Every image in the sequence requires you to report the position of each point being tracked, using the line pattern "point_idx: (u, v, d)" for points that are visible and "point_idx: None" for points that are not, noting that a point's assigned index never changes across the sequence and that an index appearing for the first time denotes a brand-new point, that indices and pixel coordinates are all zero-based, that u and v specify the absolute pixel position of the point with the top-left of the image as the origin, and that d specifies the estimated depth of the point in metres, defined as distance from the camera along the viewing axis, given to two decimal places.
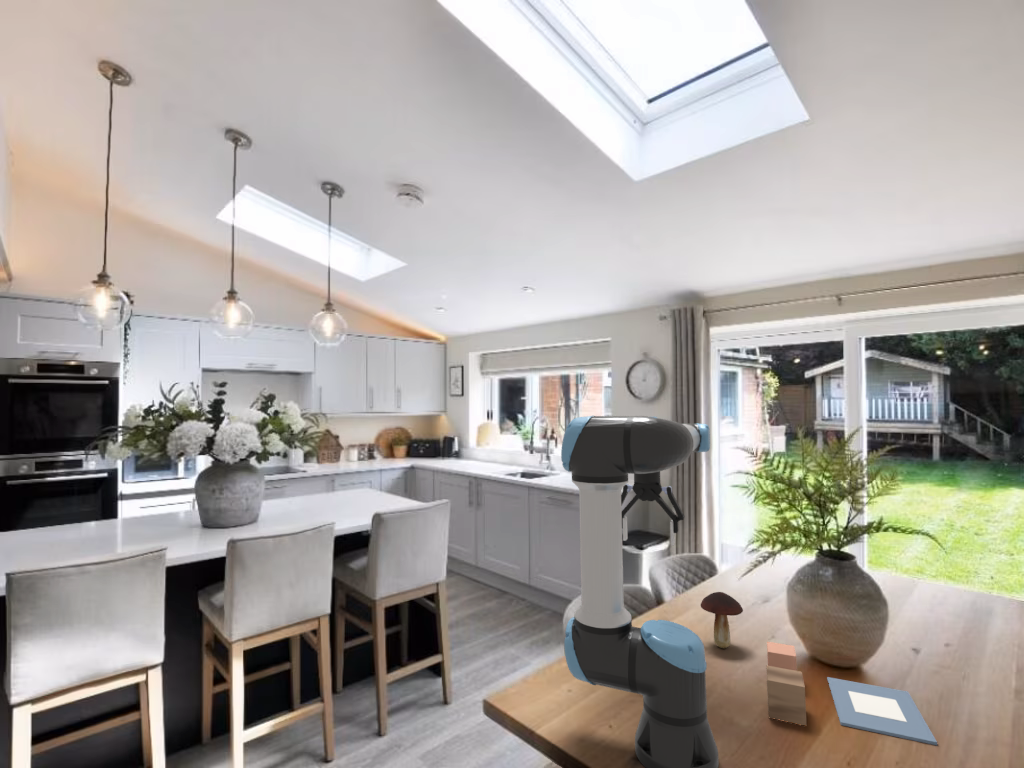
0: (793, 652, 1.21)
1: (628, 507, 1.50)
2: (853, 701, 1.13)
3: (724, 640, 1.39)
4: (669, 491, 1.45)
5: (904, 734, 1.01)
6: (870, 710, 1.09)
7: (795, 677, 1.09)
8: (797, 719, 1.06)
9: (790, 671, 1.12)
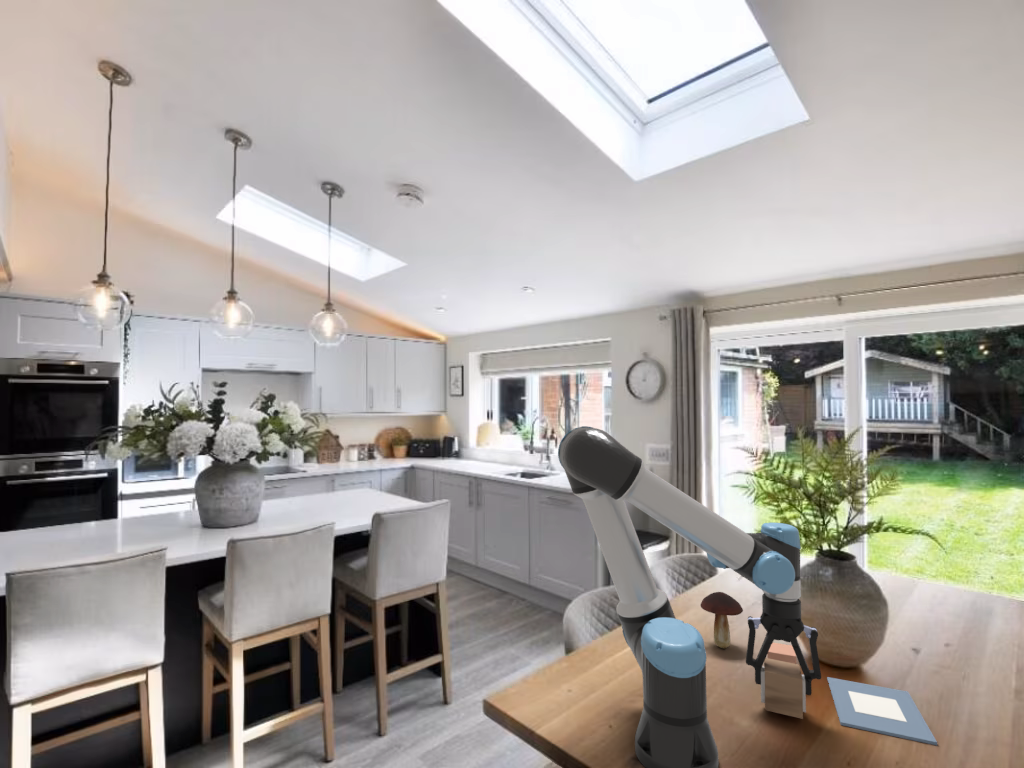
0: (793, 652, 1.21)
1: (764, 653, 1.11)
2: (853, 701, 1.13)
3: (724, 640, 1.39)
4: (814, 637, 1.07)
5: (904, 734, 1.01)
6: (870, 710, 1.09)
7: (793, 670, 1.09)
8: (794, 711, 1.06)
9: (788, 664, 1.12)
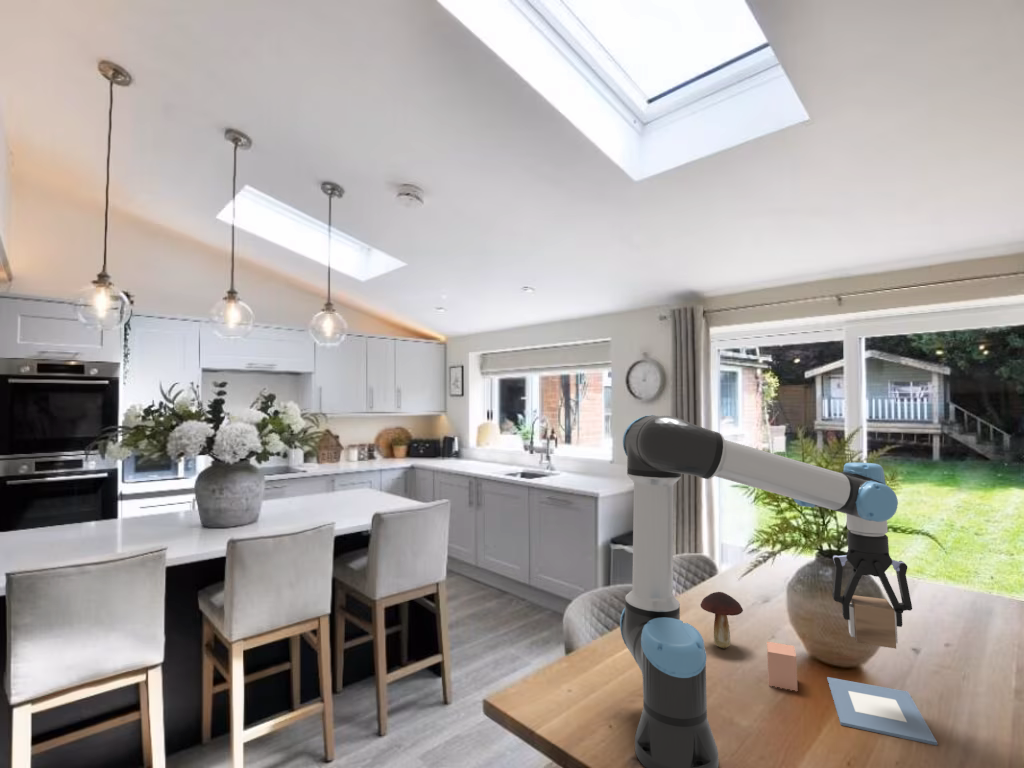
0: (793, 652, 1.21)
1: (852, 589, 1.13)
2: (853, 701, 1.13)
3: (724, 640, 1.39)
4: (904, 570, 1.09)
5: (904, 734, 1.01)
6: (870, 710, 1.09)
7: (882, 603, 1.12)
8: (886, 641, 1.08)
9: (875, 599, 1.14)
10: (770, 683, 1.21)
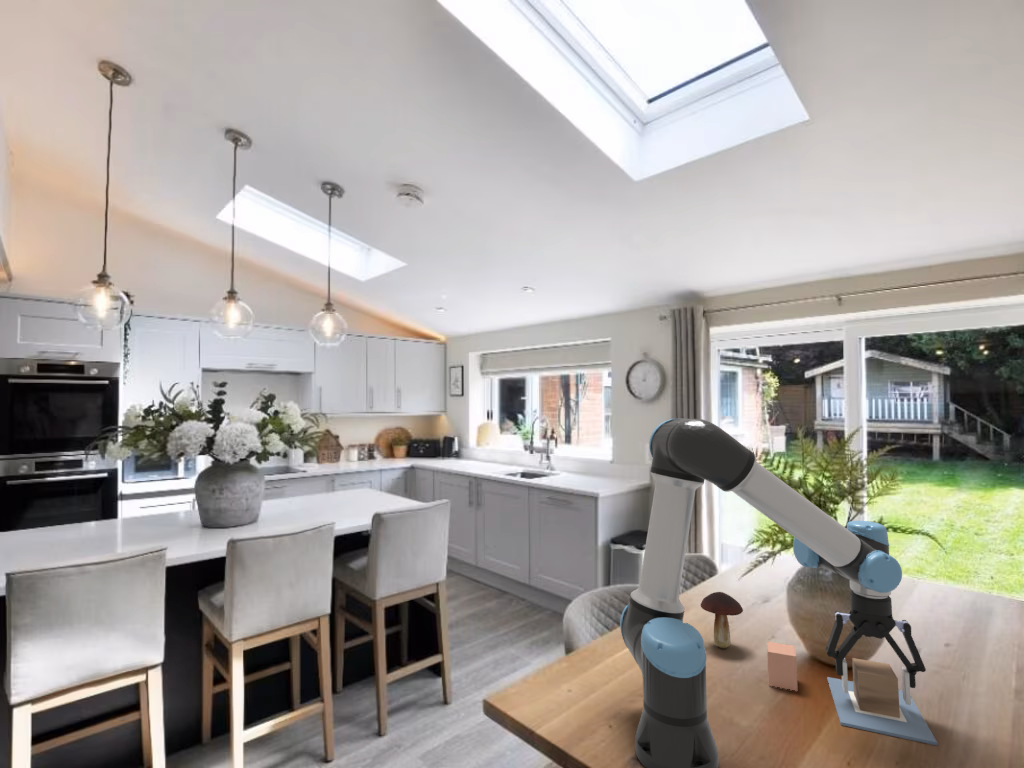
0: (793, 652, 1.21)
1: (849, 646, 1.13)
2: (853, 701, 1.13)
3: (724, 640, 1.39)
4: (908, 630, 1.09)
5: (904, 734, 1.01)
6: None
7: (885, 669, 1.11)
8: (890, 710, 1.07)
9: (878, 663, 1.14)
10: (770, 683, 1.21)
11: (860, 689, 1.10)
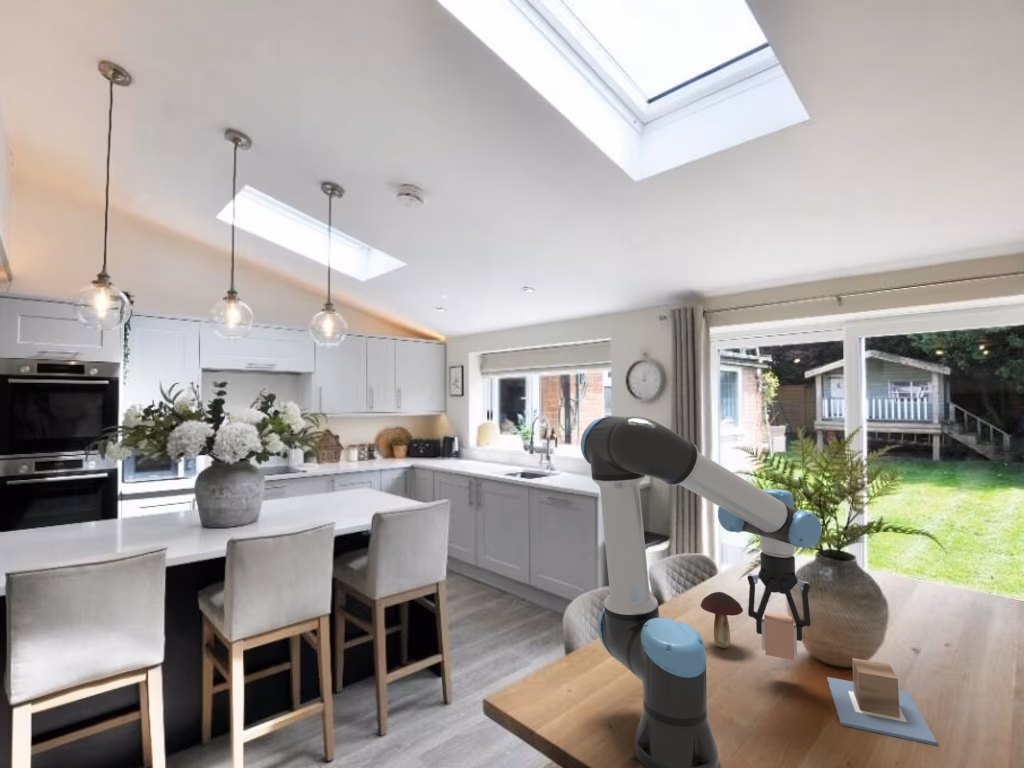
0: (790, 621, 1.21)
1: (764, 605, 1.24)
2: (853, 701, 1.13)
3: (724, 640, 1.39)
4: (806, 589, 1.20)
5: (904, 734, 1.01)
6: None
7: (885, 669, 1.11)
8: (890, 710, 1.07)
9: (878, 663, 1.14)
10: (767, 652, 1.21)
11: (860, 689, 1.10)
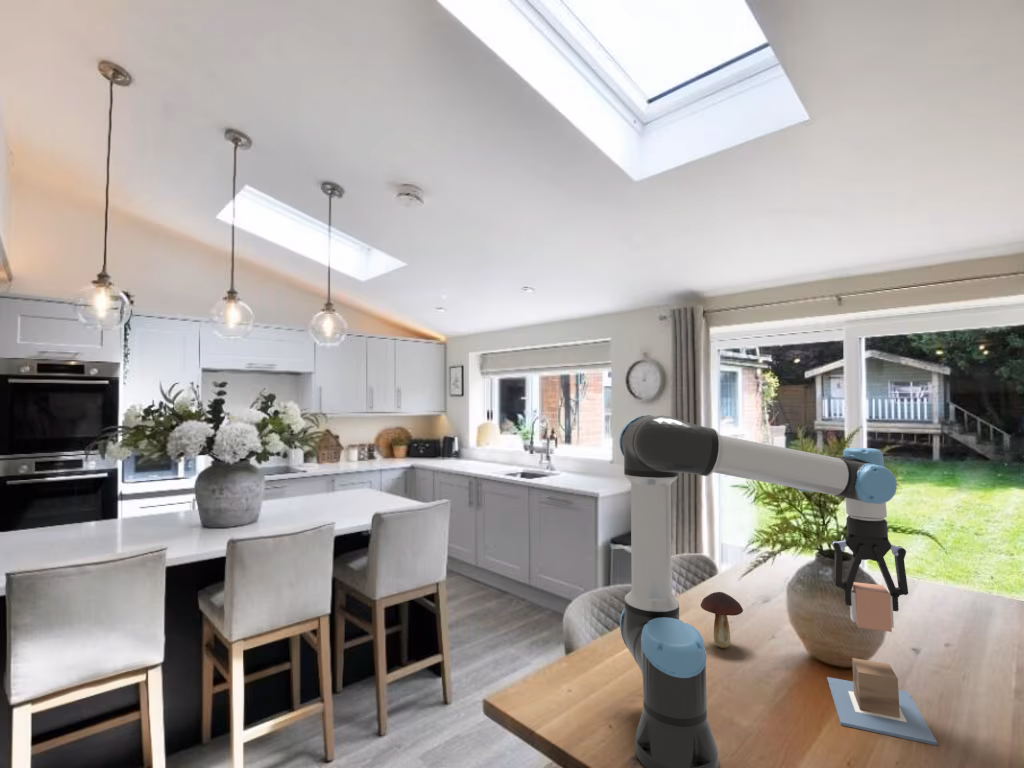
0: (885, 590, 1.11)
1: (853, 574, 1.13)
2: (853, 701, 1.13)
3: (724, 640, 1.39)
4: (902, 554, 1.10)
5: (904, 734, 1.01)
6: None
7: (885, 669, 1.11)
8: (890, 710, 1.07)
9: (878, 663, 1.14)
10: (860, 624, 1.11)
11: (860, 689, 1.10)
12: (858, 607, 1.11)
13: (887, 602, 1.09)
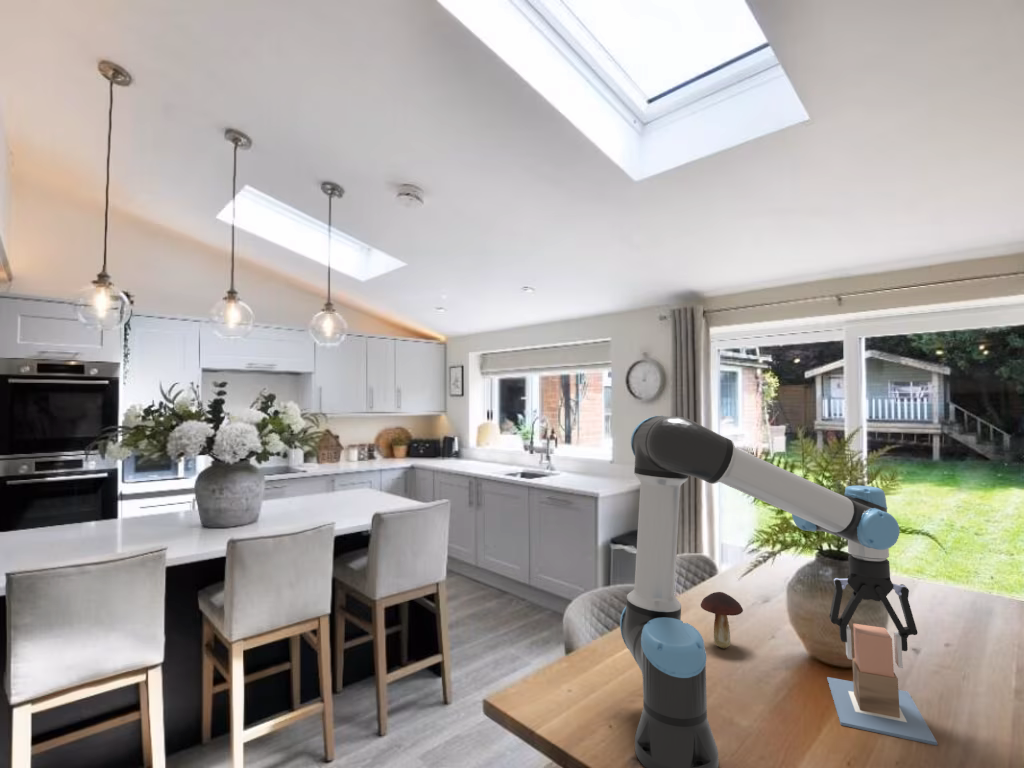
0: (887, 634, 1.10)
1: (851, 612, 1.13)
2: (853, 701, 1.13)
3: (724, 640, 1.39)
4: (905, 594, 1.09)
5: (904, 734, 1.01)
6: None
7: None
8: (890, 710, 1.07)
9: None
10: (862, 668, 1.10)
11: (860, 689, 1.10)
12: (860, 651, 1.10)
13: (889, 647, 1.08)
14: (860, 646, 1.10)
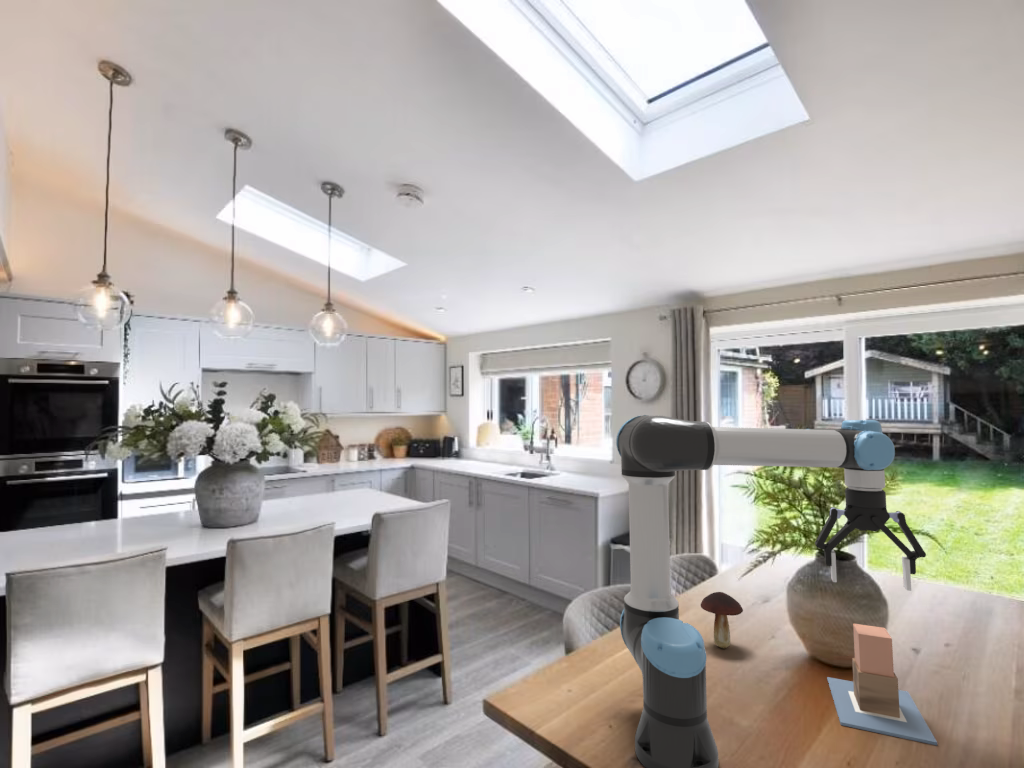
0: (887, 634, 1.10)
1: (839, 538, 1.15)
2: (853, 701, 1.13)
3: (724, 640, 1.39)
4: (902, 519, 1.10)
5: (904, 734, 1.01)
6: None
7: None
8: (890, 710, 1.07)
9: None
10: (862, 668, 1.10)
11: (860, 689, 1.10)
12: (860, 651, 1.10)
13: (889, 647, 1.08)
14: (860, 646, 1.10)
